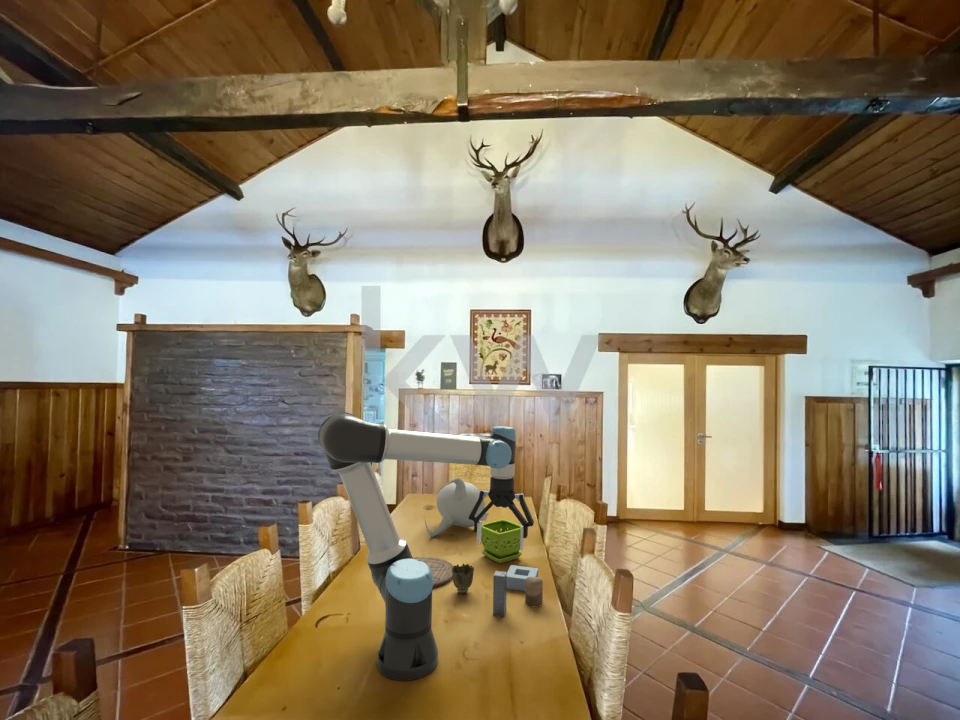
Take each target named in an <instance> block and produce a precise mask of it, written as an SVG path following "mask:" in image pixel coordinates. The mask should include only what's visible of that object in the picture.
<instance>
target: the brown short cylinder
mask: <svg viewBox="0 0 960 720" xmlns="http://www.w3.org/2000/svg"><path fill="white" fill-rule="evenodd" d="M543 582H544V581H543V579H542V578H541V577H539V576H538V577H528V578H526V580H525V591H524V592H525V593H524V594H525V597H524V599H525V600H524V602H525V604H526V605H527V606H529V607H532V606H538V607H540V605H541V606H542V605H543V604H544V603H543V602H544V601H543V594H544V593H543V590H544V589H543V587H544V586H543Z"/></svg>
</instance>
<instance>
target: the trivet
mask: <svg viewBox="0 0 960 720" xmlns="http://www.w3.org/2000/svg"><path fill="white" fill-rule="evenodd" d="M412 558H413V559H417V560H418V561H423V562H425V563H426V564H427V565H428V566H429V567H430V569H431V571H432V578H433V588H432V589H435V588H439V587H442V586H444V585H446V584H448V583H450V582H451V581H453V575H452V568H453V566H454V565H453V564H452V563H451V562H450V561H447V560H446V559H442V558H439V557H432V556H412Z"/></svg>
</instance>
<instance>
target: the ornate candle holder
mask: <svg viewBox="0 0 960 720" xmlns="http://www.w3.org/2000/svg"><path fill="white" fill-rule="evenodd" d="M474 572H475V568H474V566H472V565H470V564H469V563H467V564H465V563H462V565H461V566H459V564H456V565H453V568H452V575H453V579H452V582H453V585H454V586H455V588H456V591H457V593H458V594H461V595H464V594H467V593H468V591H469V588H470V587H471V586H472V583H473V581H474Z"/></svg>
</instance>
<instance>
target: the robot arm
mask: <svg viewBox="0 0 960 720" xmlns="http://www.w3.org/2000/svg"><path fill="white" fill-rule="evenodd" d="M516 435H517V434H516V429H515V428H514V427H512V426H507V425H505V426H504V425H497V426H492V428H491V432H489V433H468V432H466V433H459V434H456V435H455V434H447V433H446V434H443V433H435V432H423V431H413V430H403V429H393V428H392V429H391V428H388V427H387V426H386V424H384V423H383V424H381V423H374V422H371V421H366V420H365V419H362V418H359V417H357V416H355V415H354V414H352V413H349V412H347V411H345V412H341V411H340V412H335V413H333V414H330V415H329V416H327V417H326V418H324V420H323V421H322V422H321V423H320V426H319V427H318V432H317V440H318V443H319V445H320V446H321V448H322V450H323V452H324V454H325V455H324V456H325V458H326V460H327V462H328V465H329V468H330V470H331V471H333V472H335V473H338V474H339V476H340V479H341V482H342V485H343V487H344V489H345V491H346V495H347V497H348V500H349V503H350V505H351V508H352V510H353V513H354V515H355V518H356V521H357V523H358V525H359V529H360V530H361V533H362V536H363V538H364V541H365V543H366V546H367V548H368V554H367V555H366V562H367V564H368V567H369V570H370V574H371V578H372V581H373V583H374V585H375V586H376V587H377V589H378V591H379V593H380V596H381V597H382V599H383V602H384V605H385V615H384V616H385V621H384V626H385V627H384V634H383V637H382V640H381V643H380V645H379V649H378V652H377V657H376V658H377V661H376V664H377V665H376V666H377V667H376V668H377V669H378V671H379V672H380V674H381V675H383V676H384V677H385V678H388V679H391V680H394V681H403V682H404V681H412V680H417V679H419V678H423V677H425V676H427V675H429V674H430V673H432V671H434V670H435V668H436V667H437V665H438V661H439V660H438V659H439V649H438V646H437V641H436V639H435V636H434V633H433V628H432V624H433V623H432V621H433V618H432V615H433V589H434V588H433V578H432V571H431V569H430V567H429V566H428V565H427V564H426V563H425V562H423V561H418V560H417V559H413V558H412V557H413V556H412V552H411V551H410V550H411V549H410V548H409V545H408V542H407V540H406V538H403V537H402V536H399V535H398V532H397V529H396V527H395V524H394V521H393V518H392V516H391V512H390V511H389V507H388V505H387V502H386V501H385V497H384V495H383V492H382V489H381V487H380V484H379V482H378V478H377V476H376V474H375V471H374V468H373V465H372V463H373V464H374V463H375V464H381V463H382V462H383V461H385V460H393V461H406V462H407V461H410V462H411V461H412V462H425V463H443V464H457V465H460V464H461V465H473V466H485V467H490V472H489V473H490V475H491V476H490V479H489V491H487V490H485V489H484V488H483V489H482V490H479V491H480V494H479V499H478V501H477V502H476V504H475V506H474V508H473V510H472V512H471V514H470V516H469V519H470V520H473V521H474V527H473V531H474V533H476V545H480V544H482V542H481V530H482V524H483V523H482V522H483V521H479V520H480V518H481V517H482V516H483V515H484V514H485V513H488V511H489V510H490V509H491V508H492V507H493V506H495V508H503V509H504V508H505V509H506V508H509V510H510V511H512V513H513V515H514V516H515V518H516V519H517V520H518V522H520V525H521V536H520V550H521V551H523V550H524V547H525V539H527V538H528V535H529V533H528V531H529V527H533V526H534V524H535V521H534V519H533V516H532V514H531V512H530V509H529V507H528V504H527V503H526V501H525V493H523V492H521V493H515V478H514V476H516V475H515V473H516V472H515V467H516V465H515V464H516V463H515V462H516V443H517V439H516V438H517V436H516ZM487 497H488V498H489V499H490V501H489V503H488V504H486V505H485V508H484V509H483V510H482V512H481V513H480V514H479V515H478V516H475V514H476V512H477V510H478V508H479V507H480V505H481V503H482V501H483V499H486V498H487ZM515 499H516V500H517V502H519V505H520V507H521V509H522V512H523V513H524V516H523V513H522V512H521V511H520V510H519V509H518V507H517V506H516V503H514V500H515ZM520 550H519V551H520Z"/></svg>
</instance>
